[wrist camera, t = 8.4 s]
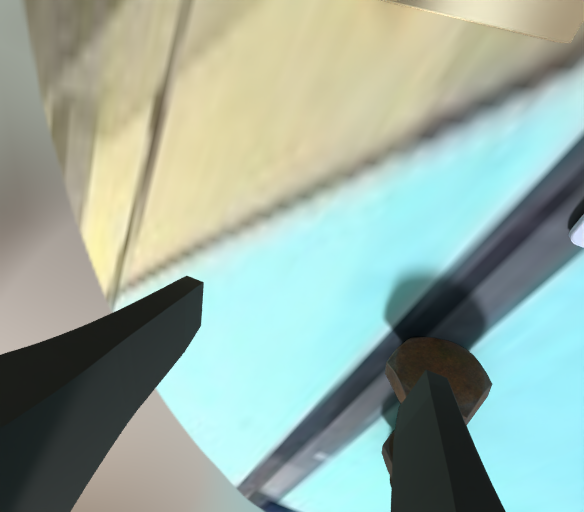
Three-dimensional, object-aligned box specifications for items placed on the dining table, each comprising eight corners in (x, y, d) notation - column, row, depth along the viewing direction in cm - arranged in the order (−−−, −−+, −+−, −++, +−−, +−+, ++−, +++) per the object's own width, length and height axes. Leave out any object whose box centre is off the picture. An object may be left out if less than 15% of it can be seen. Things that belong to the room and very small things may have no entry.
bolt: (403, 439, 31) (425, 321, 23) (456, 484, 28) (505, 364, 20) (362, 487, 28) (371, 371, 20) (417, 544, 25) (454, 432, 17)
